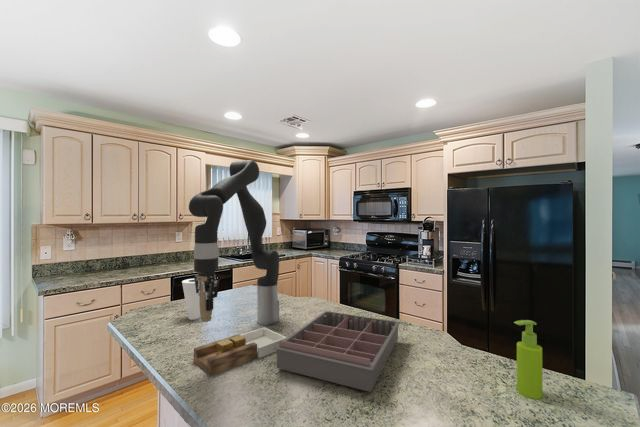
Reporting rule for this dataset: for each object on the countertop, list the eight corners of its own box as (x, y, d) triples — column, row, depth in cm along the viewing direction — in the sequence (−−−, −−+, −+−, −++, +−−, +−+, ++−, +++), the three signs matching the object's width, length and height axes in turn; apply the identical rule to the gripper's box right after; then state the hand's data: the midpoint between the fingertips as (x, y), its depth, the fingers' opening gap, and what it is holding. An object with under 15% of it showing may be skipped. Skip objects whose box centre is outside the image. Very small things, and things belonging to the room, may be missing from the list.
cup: (210, 316, 147) (210, 279, 147) (190, 323, 138) (190, 284, 138) (196, 313, 152) (196, 277, 152) (177, 319, 143) (177, 281, 143)
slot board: (238, 345, 114) (238, 333, 114) (257, 357, 105) (257, 344, 105) (193, 361, 102) (193, 348, 102) (210, 375, 93) (210, 361, 93)
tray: (264, 335, 124) (264, 327, 124) (287, 346, 114) (287, 337, 114) (236, 345, 115) (236, 335, 115) (259, 358, 105) (259, 348, 105)
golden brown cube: (239, 345, 110) (239, 334, 110) (245, 349, 107) (245, 338, 107) (229, 349, 107) (229, 338, 107) (235, 352, 104) (235, 341, 104)
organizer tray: (400, 342, 118) (400, 316, 118) (372, 399, 82) (372, 362, 82) (325, 329, 131) (325, 306, 131) (273, 373, 95) (273, 341, 95)
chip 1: (227, 350, 106) (227, 338, 106) (232, 353, 103) (232, 342, 104) (216, 354, 103) (216, 342, 103) (222, 357, 101) (222, 345, 101)
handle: (206, 325, 95) (206, 277, 95) (193, 321, 99) (193, 275, 99) (218, 320, 99) (218, 274, 99) (205, 316, 103) (205, 272, 103)
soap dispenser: (508, 387, 87) (508, 317, 87) (531, 386, 87) (530, 317, 87) (523, 399, 81) (523, 325, 81) (548, 398, 82) (547, 324, 82)
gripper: (227, 257, 97) (227, 311, 97) (207, 253, 107) (207, 301, 107) (204, 260, 91) (204, 316, 91) (186, 255, 101) (186, 306, 101)
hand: (206, 308), depth 99 cm, fingers closed on handle, 4 cm apart
